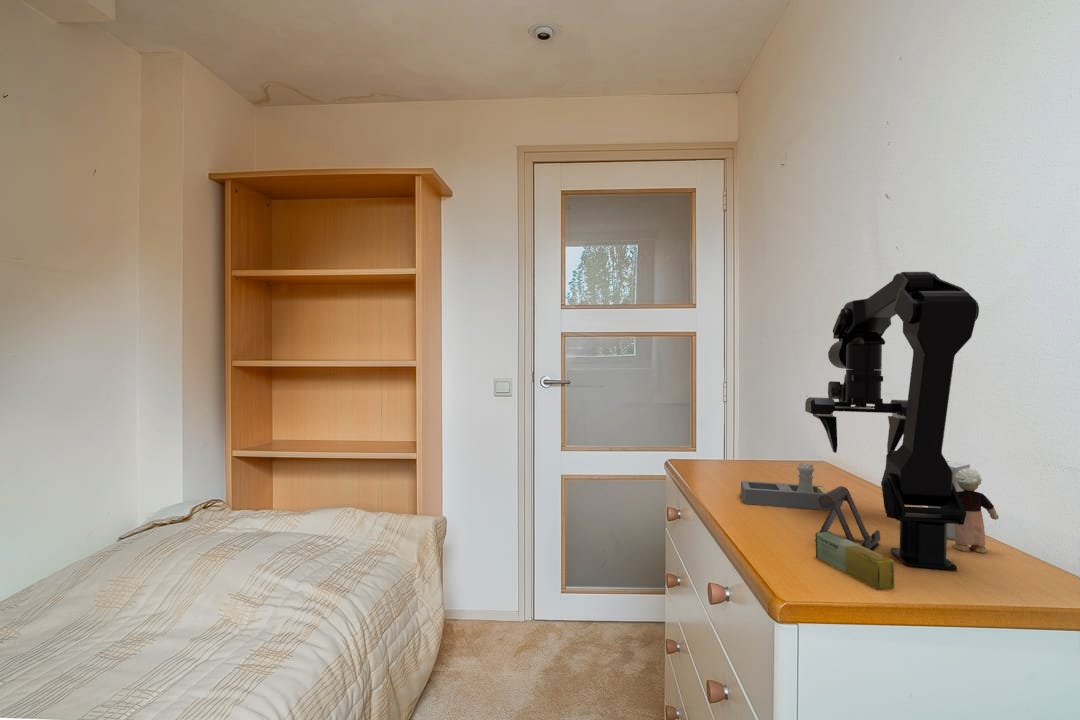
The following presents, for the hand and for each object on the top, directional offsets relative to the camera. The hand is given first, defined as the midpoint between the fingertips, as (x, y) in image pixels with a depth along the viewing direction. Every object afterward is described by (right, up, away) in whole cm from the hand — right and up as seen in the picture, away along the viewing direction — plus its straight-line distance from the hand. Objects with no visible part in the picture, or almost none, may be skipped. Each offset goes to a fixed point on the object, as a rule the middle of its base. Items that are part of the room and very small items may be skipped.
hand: (861, 453), depth 104 cm
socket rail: (-10, -12, +11) cm, 19 cm away
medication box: (-16, -13, -26) cm, 33 cm away
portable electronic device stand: (-11, -12, -15) cm, 22 cm away
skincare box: (+10, -12, -9) cm, 18 cm away
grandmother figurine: (+7, -12, -16) cm, 22 cm away
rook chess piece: (-6, -12, +10) cm, 17 cm away
